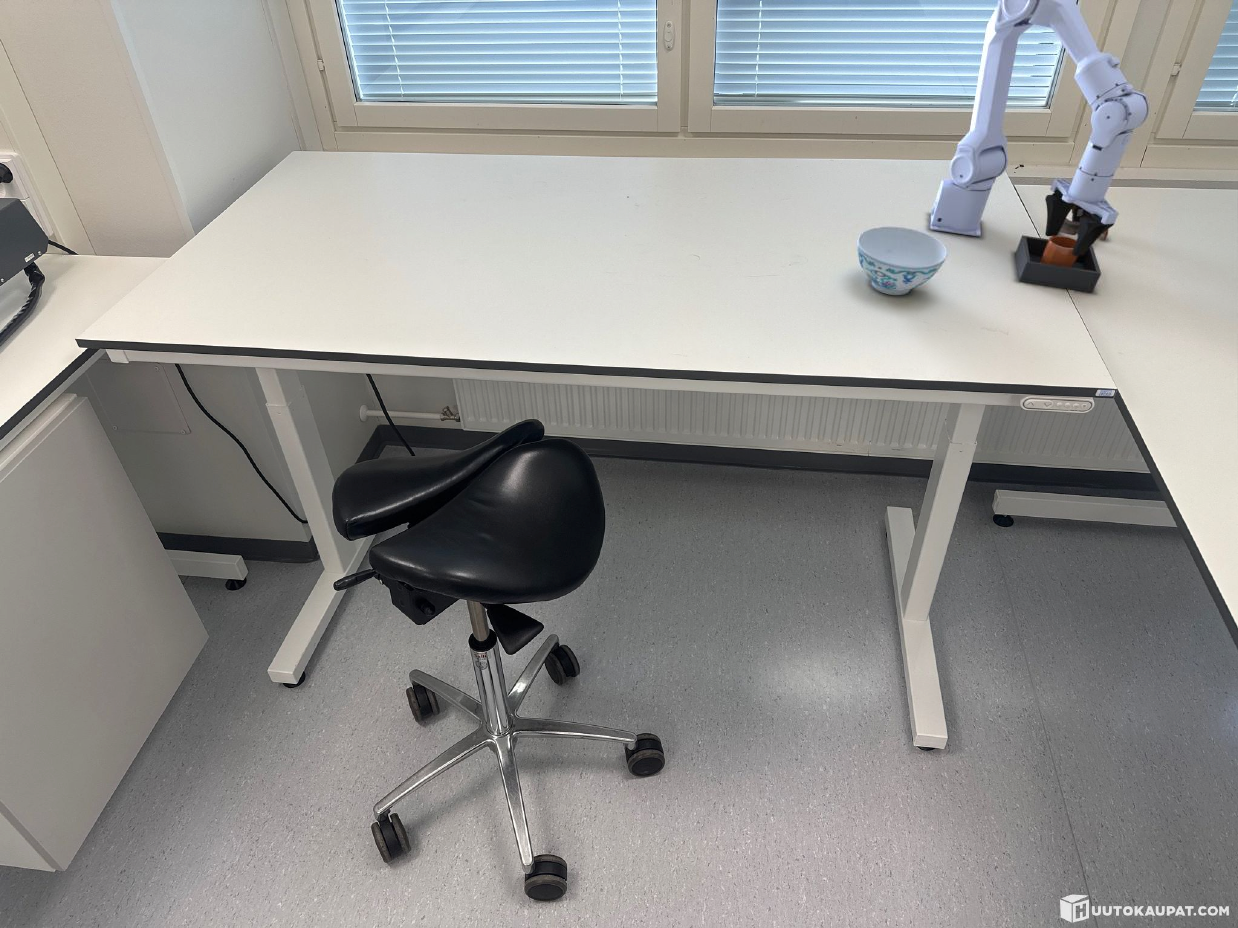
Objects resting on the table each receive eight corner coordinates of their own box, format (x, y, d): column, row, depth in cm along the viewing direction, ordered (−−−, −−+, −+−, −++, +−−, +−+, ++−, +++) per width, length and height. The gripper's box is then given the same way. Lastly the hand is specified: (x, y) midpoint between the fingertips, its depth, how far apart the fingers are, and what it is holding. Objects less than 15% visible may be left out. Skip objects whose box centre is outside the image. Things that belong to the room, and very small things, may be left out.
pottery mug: (1115, 249, 157) (1115, 218, 151) (1061, 263, 161) (1059, 233, 155) (1099, 209, 164) (1099, 177, 158) (1048, 223, 168) (1046, 193, 162)
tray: (1019, 281, 145) (1026, 262, 143) (1015, 253, 154) (1022, 235, 151) (1092, 293, 143) (1101, 273, 140) (1084, 264, 151) (1092, 245, 149)
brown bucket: (1045, 277, 146) (1057, 249, 142) (1033, 262, 150) (1044, 235, 146) (1074, 277, 146) (1087, 249, 142) (1061, 263, 150) (1073, 235, 146)
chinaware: (887, 315, 135) (899, 273, 130) (831, 275, 145) (840, 235, 140) (952, 296, 141) (966, 256, 135) (894, 259, 150) (905, 220, 145)
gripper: (1048, 155, 140) (1020, 229, 149) (1105, 189, 129) (1071, 265, 139) (1083, 153, 141) (1053, 225, 150) (1142, 186, 131) (1106, 262, 140)
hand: (1064, 244), depth 145 cm, fingers open, 7 cm apart
